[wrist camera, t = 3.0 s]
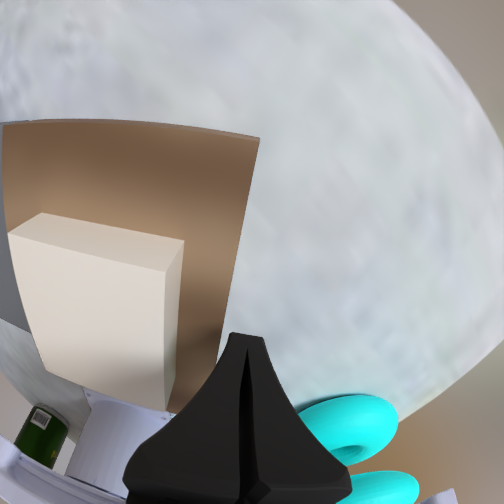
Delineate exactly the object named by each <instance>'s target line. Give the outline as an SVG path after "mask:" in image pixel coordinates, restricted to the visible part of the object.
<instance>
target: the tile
mask: <svg viewBox="0 0 504 504" xmlns="http://www.w3.org/2000/svg"><path fill="white" fill-rule="evenodd" d="M7 234H8V240H9V246H10V252H11V258H12V263H13V268H14V272H15V277H16V281H17V285H18V289H19V293H20V297H21V300H22V304H23V307H24V311H25V314H26V317H27V320H28V324H29V327H30V330H31V332H32V335H33V338H34V341H35V344H36V346H37V349H38V352H39V354H40V357H41V359H42V362H43V364H44V366H45V369H46V371H48V372H51V373H53V374H55V375H57V376H59V377H62V378H64V379H66V380H69V381H71V382H73V383H76V384H78V385H81V386H83V387H86V388H89V389H91V390H94V391H97V392H99V393H102V394H105V395H108V396H111V397H114V398H117V399H120V400H123V401H126V402H129V403H132V404H136V405H139V406H143V407H146V408H150V409H154V410H157V411H161V412H166V408H167V405H168V401H169V398H170V394H171V391H172V387H173V384H174V380H175V375H176V345H177V325H178V309H179V295H180V282H181V270H182V260H183V250H184V240H179V239H174V238H169V237H164V236H158V235H153V234H148V233H143V232H138V231H133V230H128V229H123V228H118V227H112V226H107V225H102V224H97V223H92V222H87V221H82V220H77V219H72V218H67V217H62V216H57V215H52V214H46V213H40V214H38V215H36V216H35V217H33V218H31V219H29V220H28V221H26V222H24V223H23V224H21V225H20V226H18V227H16V228H15V229H13V230H11V231H10V232H8V233H7Z"/></svg>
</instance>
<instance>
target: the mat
mask: <svg viewBox="0 0 504 504" xmlns="http://www.w3.org/2000/svg"><path fill="white" fill-rule="evenodd" d="M26 121H29V120H25V121H12V122H2V123H0V318H1V319H3V320H5V321H7V322H9V323H11V324H13V325H15V326H17V327H19V328H21V329H23V330H25V331H27V332H29V333H31V330H30V327H29V324H28V321H27V318H26V315H25V312H24V308H23V305H22V301H21V298H20V294H19V290H18V286H17V282H16V278H15V274H14V269H13V264H12V259H11V254H10V249H9V243H8V236H7V229H6V221H5V212H4V201H3V187H2V134H3V125H8V124H13V123H20V122H26Z"/></svg>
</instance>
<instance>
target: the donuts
mask: <svg viewBox="0 0 504 504" xmlns="http://www.w3.org/2000/svg"><path fill="white" fill-rule="evenodd" d="M298 415H299V417H300V418H301V419H302V421H303V422H304V424H305V425H306V426H307V427H308V429H309V430H310V431H311V432H312V433H313V435H314V436H315V437H316V438H317V439H318V441H319V442H320V443H321V444H322V445H323V446H324V447H325V448H326V449H327V450H328V451H329V452H330V453H331V454H332V455H333V456H334V457H335V458H336V459H338V460H339V461H340V462H341V463H342V464H343V465H345V466H349V465H352V464H356V463H358V462H361V461H363V460H366V459H368V458H369V457H371V456H373V455H375V454H376V453H378V452H379V451H380V450H382V449H383V448H384V447H385V446H386V445H387V444H388V443H389V442H390V440H391V439H392V438H393V437H394V435H395V432H396V430H397V427H398V414H397V412H396V410H395V408H394V407H393V406H392V405H391V404H390V403H389V402H387V401H386V400H384V399H382V398H379V397H375V396H368V395H352V396H344V397H339V398H334V399H330V400H327V401H324V402H321V403H318V404H316V405H313V406H311V407H309V408H307V409H305V410H303V411H302V412H300V413H298ZM350 478H351V482H352V489H353V491H352V493H351V494H350V495H349V496H347V497H346V498H344V499H342V500H341V501H339V502H337V503H336V504H413V503H414V502H415V500H416V499H417V497H418V494H419V484H418V482H417V480H416V479H415V478H414V477H413V476H411V475H409V474H407V473H403V472H400V471H376V472H368V473H362V474H357V475H353V476H350Z"/></svg>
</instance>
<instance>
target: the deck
mask: <svg viewBox="0 0 504 504" xmlns="http://www.w3.org/2000/svg"><path fill="white" fill-rule="evenodd" d="M259 142H260V138H258V137H253V136H248V135H242V134H237V133H231V132H225V131H219V130H213V129H206V128H199V127H191V126H183V125H175V124H166V123H155V122H144V121H130V120H111V119H42V120H33V121H26V122H20V123H13V124H8V125H3V134H2V187H3V201H4V212H5V221H6V229H7V233H8V232H10V231H11V230H13V229H15V228H16V227H18V226H20V225H21V224H23V223H24V222H26V221H28V220H29V219H31V218H33V217H35V216H36V215H38V214H40V213H46V214H52V215H57V216H62V217H67V218H72V219H77V220H82V221H87V222H92V223H97V224H102V225H107V226H112V227H118V228H123V229H128V230H133V231H138V232H143V233H148V234H153V235H158V236H164V237H169V238H174V239H179V240H184V250H183V260H182V270H181V282H180V295H179V309H178V325H177V345H176V375H175V380H174V384H173V387H172V391H171V394H170V398H169V401H168V405H167V408H166V411H167V412H171V413H175V414H178V413H179V412H180V411H181V410H182V409H183V408H184V407H185V406H186V405H187V403H188V402H189V401H190V400H191V399H192V398H193V397H194V395H195V394H196V393H197V392H198V391H199V389H200V388H201V387H202V385H203V384H204V383H205V381H206V380H207V378H208V377H209V375H210V374H211V372H212V371H213V369H214V368H215V366H216V361H217V355H218V350H219V344H220V339H221V334H222V328H223V323H224V318H225V312H226V307H227V302H228V296H229V291H230V286H231V281H232V275H233V270H234V265H235V260H236V255H237V250H238V245H239V240H240V235H241V230H242V225H243V220H244V215H245V210H246V205H247V200H248V195H249V190H250V185H251V180H252V175H253V171H254V166H255V161H256V156H257V152H258V147H259ZM7 236H8V234H7ZM8 243H9V240H8ZM9 249H10V246H9ZM10 254H11V252H10ZM11 259H12V258H11ZM12 264H13V263H12ZM13 269H14V268H13ZM14 274H15V272H14ZM15 278H16V277H15ZM16 282H17V281H16ZM17 286H18V285H17ZM18 290H19V289H18ZM19 294H20V293H19ZM20 298H21V297H20ZM21 301H22V300H21ZM22 305H23V304H22ZM23 308H24V307H23ZM24 312H25V311H24ZM25 315H26V314H25ZM26 318H27V317H26ZM27 321H28V320H27ZM31 333H32V332H31ZM32 336H33V335H32ZM33 339H34V338H33ZM34 342H35V341H34ZM36 347H37V346H36ZM37 350H38V349H37ZM39 355H40V354H39ZM41 360H42V359H41ZM43 365H44V364H43ZM44 367H45V366H44Z"/></svg>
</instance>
